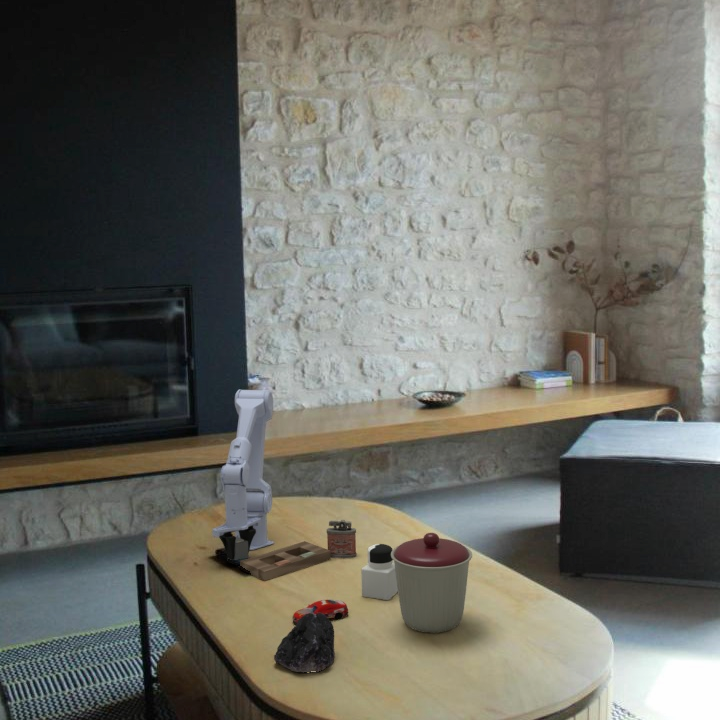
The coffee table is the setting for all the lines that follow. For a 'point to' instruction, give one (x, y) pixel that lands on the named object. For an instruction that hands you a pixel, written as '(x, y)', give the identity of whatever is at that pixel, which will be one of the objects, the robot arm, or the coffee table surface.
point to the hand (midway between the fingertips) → (238, 556)
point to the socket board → (285, 560)
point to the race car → (324, 610)
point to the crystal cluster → (308, 645)
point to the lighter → (341, 539)
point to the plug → (241, 549)
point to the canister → (431, 582)
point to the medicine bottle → (379, 573)
